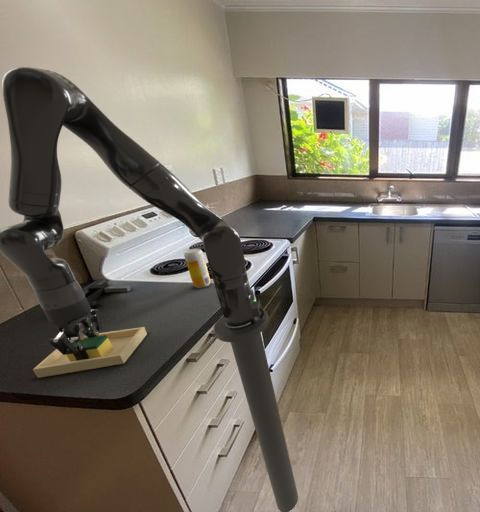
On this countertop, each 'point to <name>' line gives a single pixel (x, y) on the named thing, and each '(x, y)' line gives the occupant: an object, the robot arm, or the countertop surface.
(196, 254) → the white and yellow cylinder
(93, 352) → the sponge
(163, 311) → the countertop surface
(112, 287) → the door handle
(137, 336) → the tray
